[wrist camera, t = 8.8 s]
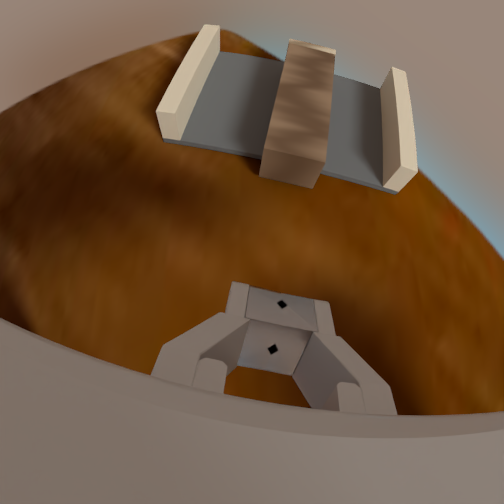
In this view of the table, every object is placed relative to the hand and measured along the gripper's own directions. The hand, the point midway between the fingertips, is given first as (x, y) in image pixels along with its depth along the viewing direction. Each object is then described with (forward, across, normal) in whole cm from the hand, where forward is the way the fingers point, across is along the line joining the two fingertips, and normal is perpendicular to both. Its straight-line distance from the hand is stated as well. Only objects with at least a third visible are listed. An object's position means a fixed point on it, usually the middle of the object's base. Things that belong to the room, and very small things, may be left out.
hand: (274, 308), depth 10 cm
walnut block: (+16, -1, -1) cm, 16 cm away
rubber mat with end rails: (+24, 0, -5) cm, 24 cm away
